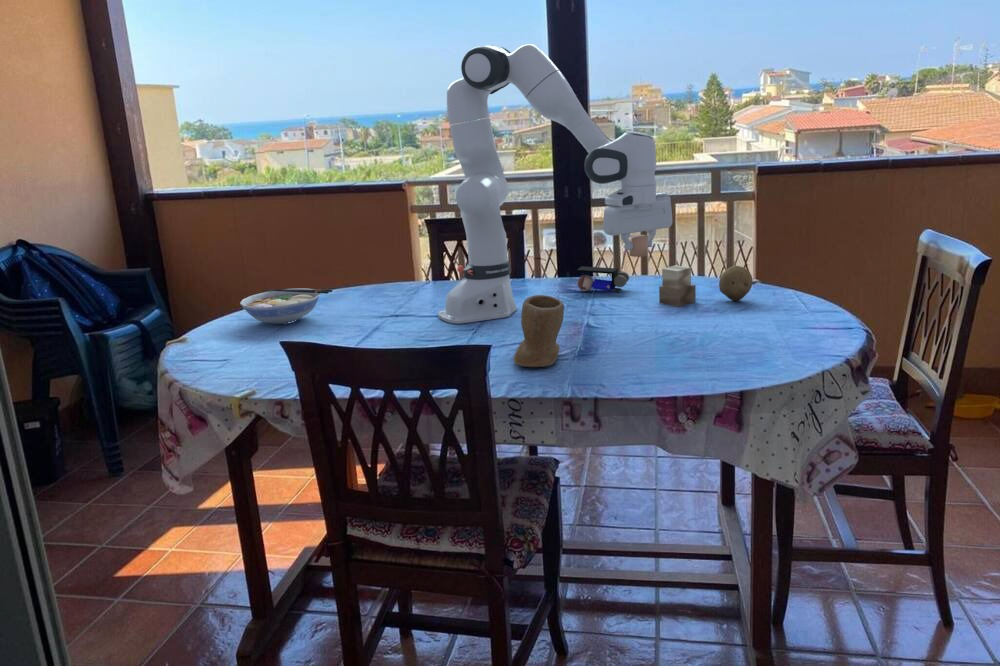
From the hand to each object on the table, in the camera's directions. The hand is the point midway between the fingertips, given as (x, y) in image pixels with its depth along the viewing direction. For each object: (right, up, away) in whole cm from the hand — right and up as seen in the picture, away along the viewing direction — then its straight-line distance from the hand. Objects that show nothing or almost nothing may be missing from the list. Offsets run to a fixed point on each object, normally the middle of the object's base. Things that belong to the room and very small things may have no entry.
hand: (638, 248), depth 213 cm
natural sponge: (+28, -14, +9) cm, 33 cm away
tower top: (+13, -9, +11) cm, 19 cm away
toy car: (-5, -10, +32) cm, 34 cm away
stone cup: (-27, -29, -29) cm, 49 cm away
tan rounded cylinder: (0, -2, 0) cm, 2 cm away
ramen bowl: (-100, -19, +23) cm, 104 cm away
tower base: (+13, -14, +13) cm, 23 cm away
